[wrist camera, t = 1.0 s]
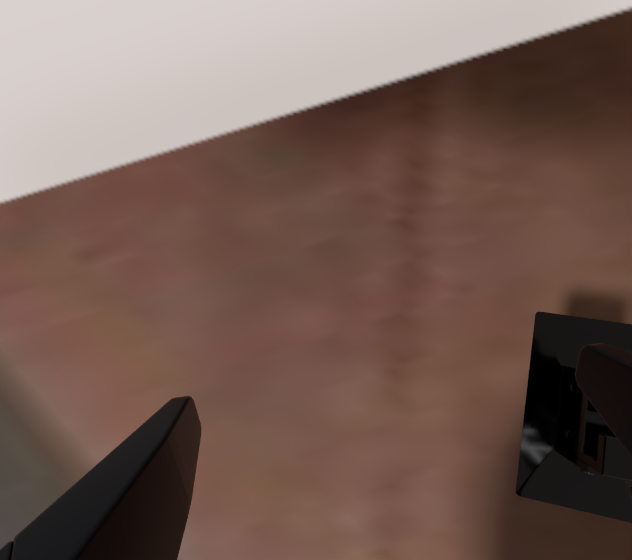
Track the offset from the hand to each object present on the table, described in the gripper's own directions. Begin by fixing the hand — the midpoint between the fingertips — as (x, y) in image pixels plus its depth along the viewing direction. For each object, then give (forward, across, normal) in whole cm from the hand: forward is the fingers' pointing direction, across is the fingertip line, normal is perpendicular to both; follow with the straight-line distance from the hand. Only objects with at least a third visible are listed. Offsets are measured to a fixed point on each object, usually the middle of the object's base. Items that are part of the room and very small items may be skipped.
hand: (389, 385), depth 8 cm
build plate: (+7, -12, +9) cm, 16 cm away
